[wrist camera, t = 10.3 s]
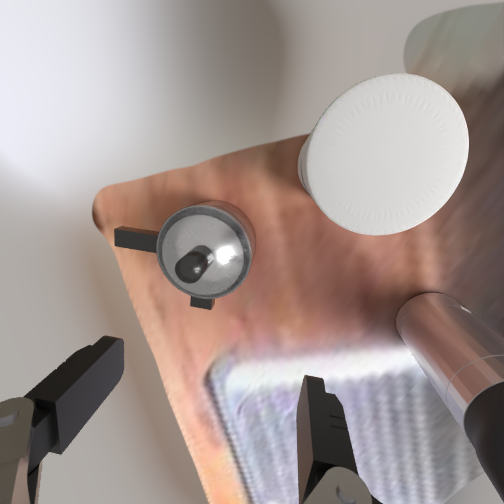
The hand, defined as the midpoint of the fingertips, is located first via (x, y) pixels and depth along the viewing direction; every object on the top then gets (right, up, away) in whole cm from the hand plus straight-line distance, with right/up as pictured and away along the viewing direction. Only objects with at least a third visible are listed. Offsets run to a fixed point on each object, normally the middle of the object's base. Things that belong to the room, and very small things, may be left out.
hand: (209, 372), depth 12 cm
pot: (-7, +6, +31) cm, 32 cm away
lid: (-4, +5, +23) cm, 24 cm away
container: (+13, +17, +25) cm, 33 cm away
